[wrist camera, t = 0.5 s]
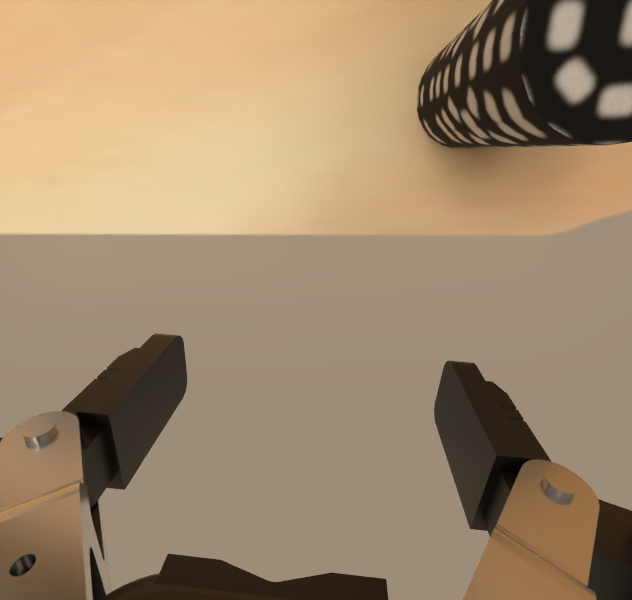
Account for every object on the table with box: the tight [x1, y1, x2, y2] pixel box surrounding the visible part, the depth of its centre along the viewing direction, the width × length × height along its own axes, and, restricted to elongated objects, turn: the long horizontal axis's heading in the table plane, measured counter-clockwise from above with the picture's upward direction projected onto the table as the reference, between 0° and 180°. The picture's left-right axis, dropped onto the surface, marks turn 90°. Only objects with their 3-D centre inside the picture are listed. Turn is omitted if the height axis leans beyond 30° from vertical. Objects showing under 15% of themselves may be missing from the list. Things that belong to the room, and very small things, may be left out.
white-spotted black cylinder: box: [417, 0, 632, 148], centre depth 22 cm, size 8×8×20 cm
